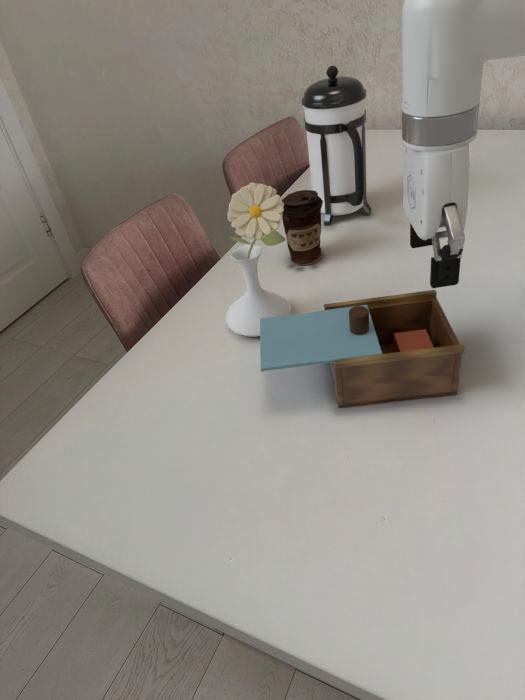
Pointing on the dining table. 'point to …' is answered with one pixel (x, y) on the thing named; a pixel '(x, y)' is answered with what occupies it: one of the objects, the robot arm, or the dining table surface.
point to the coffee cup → (303, 226)
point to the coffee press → (337, 143)
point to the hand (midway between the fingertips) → (432, 264)
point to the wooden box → (400, 354)
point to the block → (411, 341)
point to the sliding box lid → (317, 337)
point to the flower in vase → (254, 256)
